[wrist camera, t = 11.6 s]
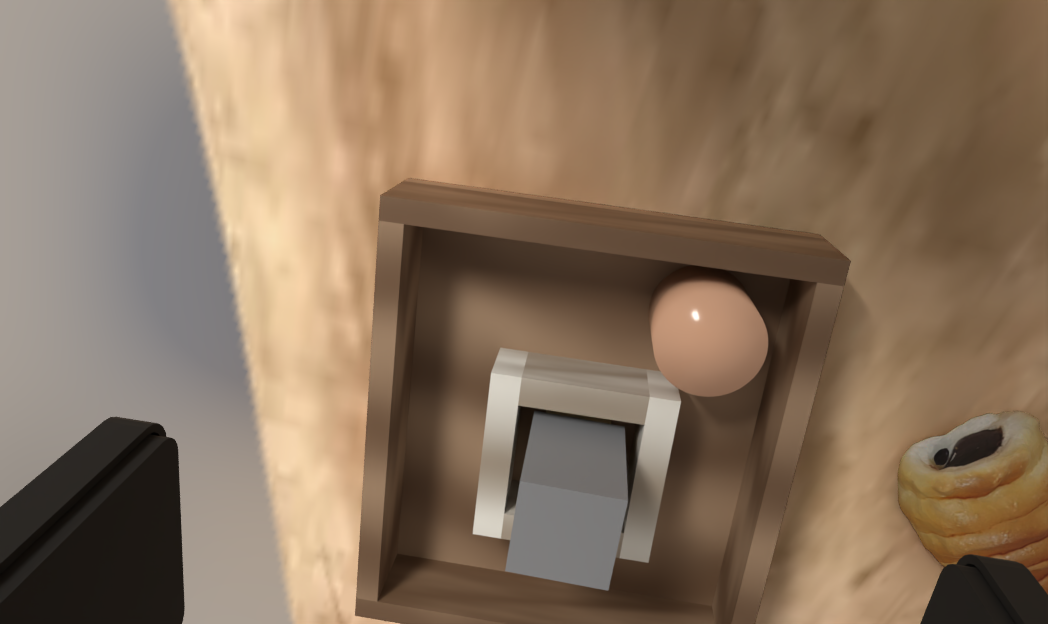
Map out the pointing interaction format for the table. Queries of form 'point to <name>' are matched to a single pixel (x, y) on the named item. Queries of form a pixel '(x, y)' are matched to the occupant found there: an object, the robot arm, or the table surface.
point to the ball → (706, 331)
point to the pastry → (981, 491)
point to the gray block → (570, 500)
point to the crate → (574, 404)
